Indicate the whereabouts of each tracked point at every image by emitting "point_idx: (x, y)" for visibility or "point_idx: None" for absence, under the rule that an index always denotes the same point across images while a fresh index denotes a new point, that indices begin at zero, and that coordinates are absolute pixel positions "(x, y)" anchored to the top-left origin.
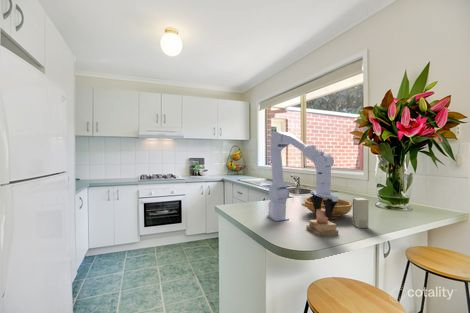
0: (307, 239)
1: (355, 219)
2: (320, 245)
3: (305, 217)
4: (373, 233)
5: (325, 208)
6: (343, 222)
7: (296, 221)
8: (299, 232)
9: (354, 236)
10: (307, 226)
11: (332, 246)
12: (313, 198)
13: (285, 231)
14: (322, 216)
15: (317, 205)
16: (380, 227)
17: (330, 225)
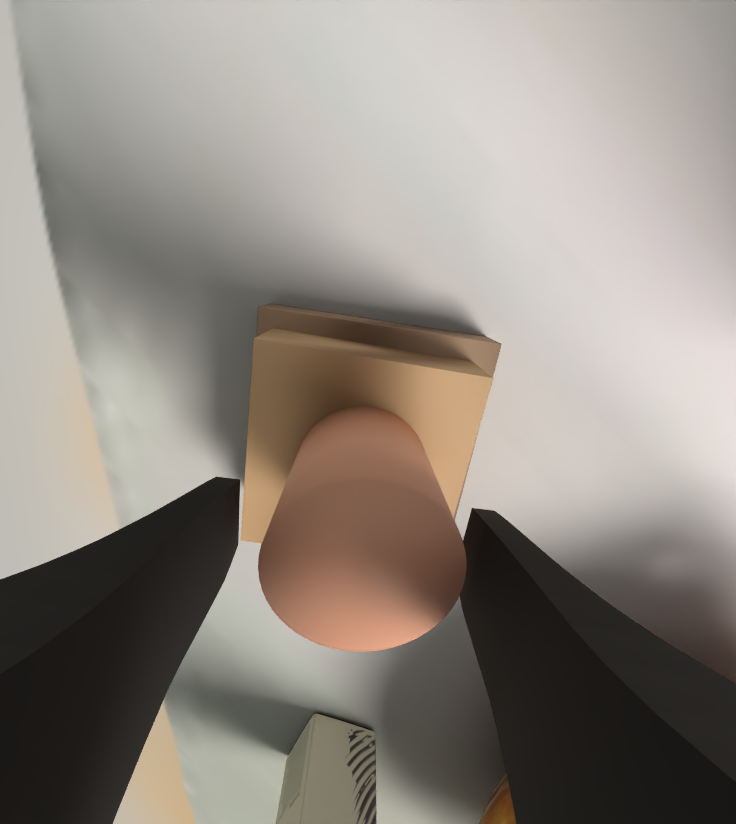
0: (267, 113)
1: (336, 784)
2: (91, 120)
3: (724, 586)
4: (198, 705)
5: (128, 554)
6: (446, 723)
7: (715, 428)
8: (464, 195)
9: None
10: (479, 339)
11: (47, 224)
12: (723, 806)
13: (580, 35)
14: (299, 467)
15: (518, 647)
16: (267, 808)
17: (246, 469)
